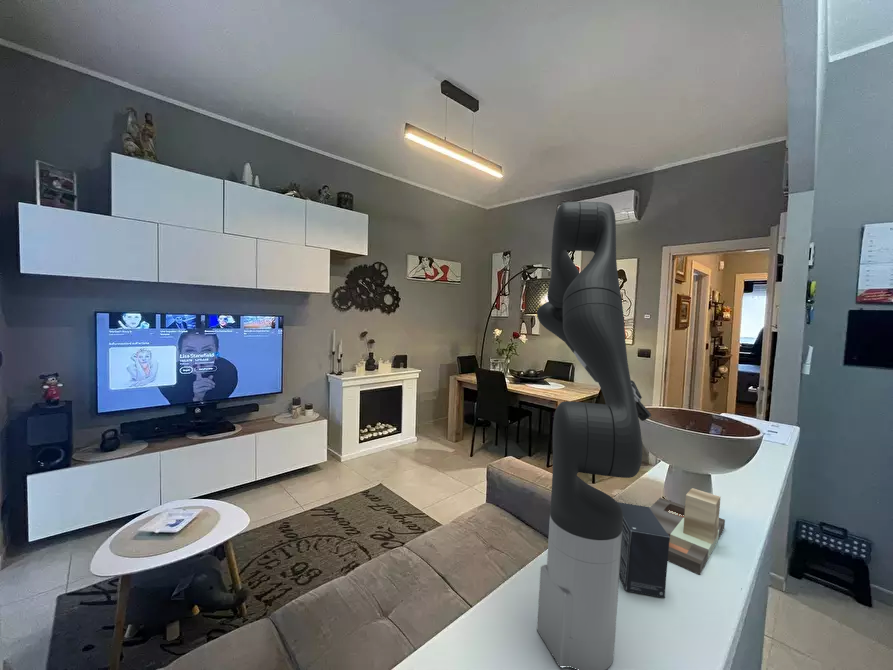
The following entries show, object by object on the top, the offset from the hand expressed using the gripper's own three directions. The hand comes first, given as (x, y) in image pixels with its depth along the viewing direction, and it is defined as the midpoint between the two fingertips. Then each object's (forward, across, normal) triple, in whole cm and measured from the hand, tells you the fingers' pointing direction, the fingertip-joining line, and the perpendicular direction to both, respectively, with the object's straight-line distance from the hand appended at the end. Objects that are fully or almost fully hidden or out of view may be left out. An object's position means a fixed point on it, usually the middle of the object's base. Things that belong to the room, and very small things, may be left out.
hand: (647, 418), depth 83 cm
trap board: (+22, 0, +12) cm, 25 cm away
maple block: (+23, 0, +7) cm, 24 cm away
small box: (+21, -20, +13) cm, 32 cm away
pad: (+24, 0, +9) cm, 26 cm away
